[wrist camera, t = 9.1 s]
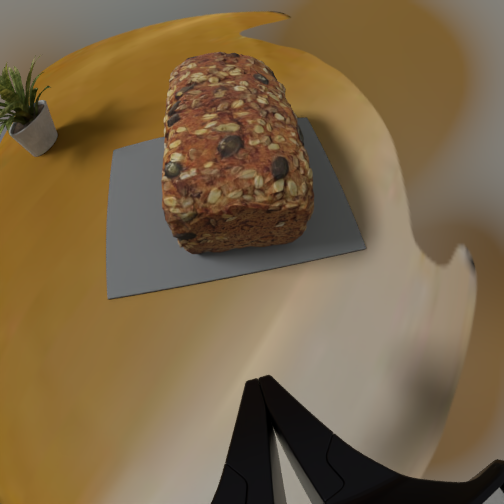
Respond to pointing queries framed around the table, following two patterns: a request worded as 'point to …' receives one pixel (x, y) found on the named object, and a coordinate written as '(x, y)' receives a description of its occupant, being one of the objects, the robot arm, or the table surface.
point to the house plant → (26, 114)
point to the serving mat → (209, 263)
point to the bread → (232, 157)
